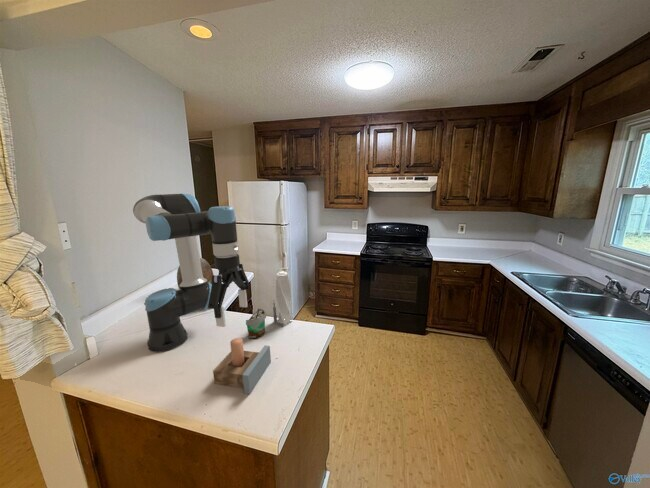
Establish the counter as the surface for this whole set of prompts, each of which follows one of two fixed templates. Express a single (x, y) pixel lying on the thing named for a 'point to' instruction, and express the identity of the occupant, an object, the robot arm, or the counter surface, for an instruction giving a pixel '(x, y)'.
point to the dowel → (237, 352)
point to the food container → (256, 324)
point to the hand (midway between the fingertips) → (233, 315)
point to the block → (232, 370)
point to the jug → (206, 272)
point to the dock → (256, 369)
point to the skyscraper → (282, 298)
